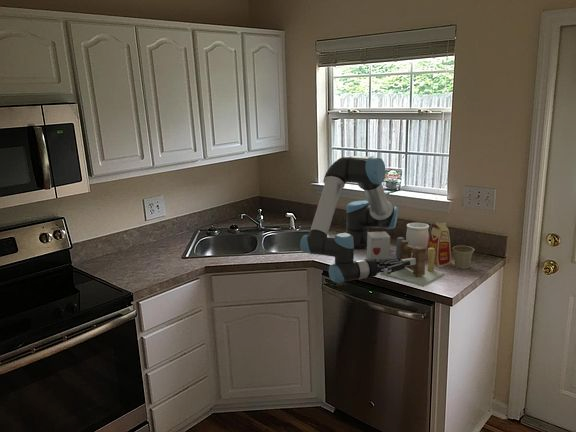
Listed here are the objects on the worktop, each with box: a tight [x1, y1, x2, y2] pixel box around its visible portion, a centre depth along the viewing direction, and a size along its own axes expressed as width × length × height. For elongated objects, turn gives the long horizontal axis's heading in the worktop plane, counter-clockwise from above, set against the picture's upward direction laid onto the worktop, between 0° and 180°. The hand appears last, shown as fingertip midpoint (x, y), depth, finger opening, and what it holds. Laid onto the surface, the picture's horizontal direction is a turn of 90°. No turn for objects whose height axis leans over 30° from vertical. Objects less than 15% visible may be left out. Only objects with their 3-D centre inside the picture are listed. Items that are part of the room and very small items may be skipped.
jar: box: [405, 222, 430, 257], centre depth 234 cm, size 11×10×15 cm
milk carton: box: [425, 221, 452, 268], centre depth 221 cm, size 9×9×20 cm
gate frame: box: [380, 236, 446, 288], centre depth 209 cm, size 21×18×14 cm
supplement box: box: [366, 231, 391, 259], centre depth 221 cm, size 9×9×15 cm
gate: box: [401, 239, 427, 276], centre depth 209 cm, size 14×5×12 cm, turn 22°
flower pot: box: [451, 245, 475, 270], centre depth 217 cm, size 9×9×9 cm
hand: (414, 261), depth 204 cm, fingers closed
